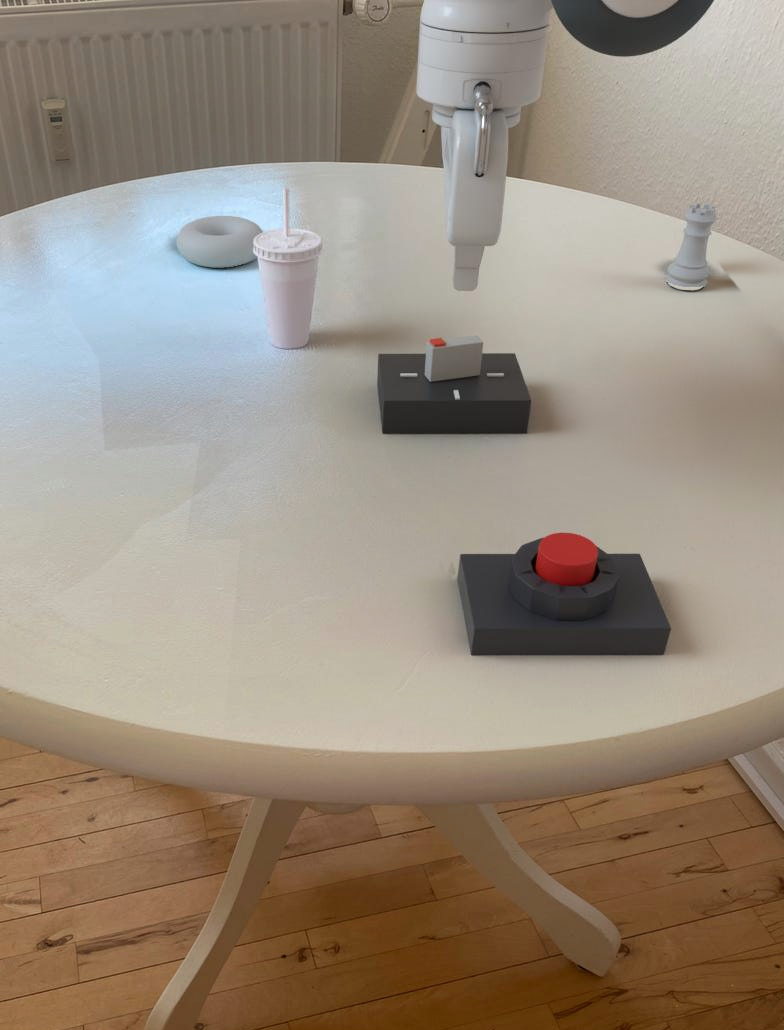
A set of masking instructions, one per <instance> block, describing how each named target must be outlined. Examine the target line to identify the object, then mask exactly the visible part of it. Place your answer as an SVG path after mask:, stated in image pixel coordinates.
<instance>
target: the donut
mask: <svg viewBox="0 0 784 1030" xmlns="http://www.w3.org/2000/svg"><path fill="white" fill-rule="evenodd" d="M263 232H264V231H263V230H262V228H261V227H260V226H259V225H258V224H257V223H256V222H255V221H252V220H250V219H247V218H243V217H240V216H234V215H213V216H205V217H200V218H198V219H194V220H192V221H190V222H187V224H185V225H183V226H181V228H180V230H179V232H178V235H177V236H176V248H177V250H178V252H179V254H180V255H181V257H182V258H183V259H184V260H186V261H187V262H189V263H190V264H194V265H197V266H199V267H200V266H201V267H207V268H212V269H213V268H218V269H220V268H221V269H224V268H225V267H226V268H233V267H234V266H235V267H238V265H239V266H243V265H246V264H248V263H250V262H252V261H254V260H256V259H258V258H257V256H256V255H255V254H254V252H253V248H254V245H253V240H254V238H255V237H256V236H257V235H259V234H260V233H263ZM242 264H243V265H242Z"/></svg>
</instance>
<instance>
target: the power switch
mask: <svg viewBox="0 0 784 1030" xmlns="http://www.w3.org/2000/svg"><path fill="white" fill-rule="evenodd" d="M543 538H544V537H541V538H538V539H535V540H532V541H529V542H526V543H524V544H522V545H521V546H519V548H518V550H517V551H516V552H515V553H460V554H459V559H458V570H457V580H456V581H457V586H458V593H459V596H460V602H461V607H462V614H463V618H464V619H463V620H464V624H465V630H466V636H467V640H468V644H469V645H468V646H469V651H470V655H471V656H664V655H665V653H666V649H667V646H668V642H669V638H670V634H671V631H672V627H671V625H670V622H669V620H668V617H667V615H666V613H665V610H664V608H663V605H662V603H661V601H660V599H659V595H658V594H657V592H656V589H655V586H654V584H653V582H652V579H651V577H650V574H649V572H648V569H647V568H646V565H645V562H644V561H643V560H644V559H643V558H642V556H641V553H607V552H605V551H604V550H603V549H602V548H600V547H599V546H597V545H596V547H597V549H598V557H597V561H596V566H595V571H594V576H593V578H592V580H591V581H590V582H589V583H588V584H585V585H583V586H560V585H557V584H554V583H551V582H548V581H545V580H543V579H542V578H541V577H540V576H538V574H537V572H536V561H537V555H538V549H539V544H540V542H541V540H542V539H543Z"/></svg>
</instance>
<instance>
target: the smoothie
mask: <svg viewBox="0 0 784 1030" xmlns="http://www.w3.org/2000/svg"><path fill="white" fill-rule="evenodd" d="M282 206H283V209H282V210H283V228H282V227H281V228H274V229H269V230H266V231H263V233H260V234H259V235H257V236H256V237H255V238H254V240H253V245H254V248H253V252H254V254H255V255H256V256H257V258H256V259H257V264H258V271H259V276H260V284H261V291H262V297H263V303H264V304H263V305H264V311H265V316H266V322H267V329H268V336H269V340H270V341H269V342H270V344H271V345H272V346H273V347H275V348H279V349H284V350H292V349H294V350H295V349H299V348H300V349H301V348H303V347H305V346H307V344H308V343H309V341H310V340H309V339H310V331H311V323H312V315H313V307H314V299H315V291H316V281H317V274H318V268H319V258H320V255H322V253H323V252H324V247H323V238H322V236H321V235H319V234H318V233H316V232H314V231H311V230H309V229H303V228H292V227H291V222H290V221H291V217H290V216H291V215H290V214H291V213H290V210H291V209H290V187H289V186H283V187H282Z"/></svg>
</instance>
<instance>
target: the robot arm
mask: <svg viewBox="0 0 784 1030" xmlns="http://www.w3.org/2000/svg"><path fill="white" fill-rule="evenodd" d="M714 2H715V0H423V3H422V7H421V10H420V14H419V15H420V17H419V31H418V46H417V47H418V49H417V68H416V86H415V93H416V95H417V97H418V98H419V99H421V100H422V101H424V102H427V103H430V104H432V110H431V119H432V122H433V123H435V124H436V125H438V126H440V136H441V138H440V139H441V155H442V162H443V184H444V205H445V223H446V224H445V225H446V226H445V227H446V238H447V242H448V243H449V244H450V245H452V246H453V247H454V261H453V273H452V286H453V289H455V290H456V291H458V292H473V291H475V290H476V289H477V288H478V285H479V284H478V283H479V273H480V267H481V263H482V260H483V256H484V252H485V247H493V246H495V245H497V243H498V241H499V239H500V236H501V231H502V226H503V225H502V224H503V214H504V205H505V193H506V184H507V183H506V182H507V170H508V161H509V159H508V158H509V129H510V128H513V127H516V126H517V125H518V124H519V123H520V121H521V110H522V107H524V106H528V105H531V104H533V103H535V102H537V101H538V100H539V99H540V97H541V95H542V89H543V88H542V87H543V79H544V72H545V64H546V63H545V62H546V55H547V47H548V39H549V32H550V31H549V30H550V23H551V15H552V11H553V10H554V12H555V14H556V16H557V18H558V20H559V21H560V23H561V25H562V26H563V27H564V28H565V30H566V31H567V32H568V34H569V35H571V37H573V38H574V39H575V40H576V41H577V42H579V43H580V44H581V45H583V46H584V47H586V48H588V49H590V50H592V51H593V52H597V53H599V54H602V55H606V56H612V57H617V58H618V57H619V58H620V57H621V58H624V57H626V58H628V57H629V58H630V57H638V56H643V55H646V54H650V53H653V52H656V51H658V50H661V49H663V48H665V47H667V46H669V45H671V44H672V43H674V42H676V41H677V40H678V39H680V38H681V37H683V36H684V35H685V34H687V33H688V32H689V31H690V30H691V29H692V28H694V27H695V25H697V23H698V22H699V21H700V20H701V19H702V18H703V16H705V14H706V13H707V12H708V10H709V9H710V7H711V6H712V5H713V3H714Z"/></svg>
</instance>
